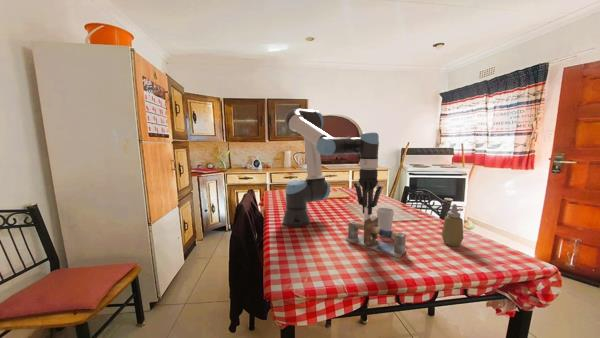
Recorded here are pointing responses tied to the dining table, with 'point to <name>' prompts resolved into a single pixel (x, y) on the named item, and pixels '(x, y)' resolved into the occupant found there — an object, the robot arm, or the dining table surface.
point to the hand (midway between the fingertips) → (366, 221)
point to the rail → (387, 248)
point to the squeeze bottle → (453, 228)
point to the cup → (385, 218)
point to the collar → (368, 225)
